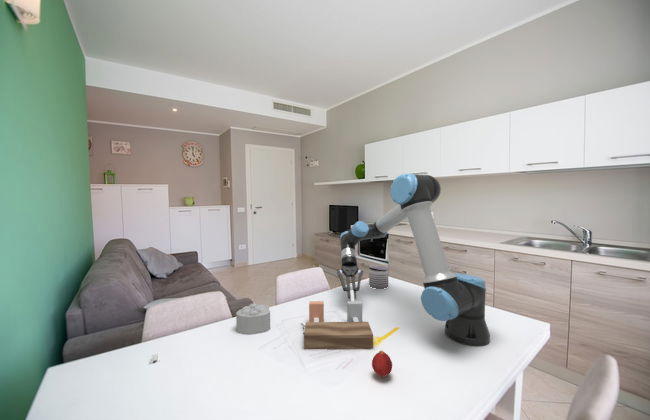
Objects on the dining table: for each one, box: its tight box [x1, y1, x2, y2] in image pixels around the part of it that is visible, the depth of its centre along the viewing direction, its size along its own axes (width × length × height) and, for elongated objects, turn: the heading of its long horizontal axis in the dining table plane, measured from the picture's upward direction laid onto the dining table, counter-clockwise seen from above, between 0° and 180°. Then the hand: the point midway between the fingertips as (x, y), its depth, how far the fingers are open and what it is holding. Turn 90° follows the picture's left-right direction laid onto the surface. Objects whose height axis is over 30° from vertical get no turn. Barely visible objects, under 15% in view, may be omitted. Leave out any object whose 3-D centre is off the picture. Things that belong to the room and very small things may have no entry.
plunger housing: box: [303, 321, 374, 350], centre depth 98 cm, size 10×24×5 cm, turn 91°
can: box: [368, 265, 390, 290], centre depth 158 cm, size 11×11×12 cm
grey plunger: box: [346, 300, 363, 322], centre depth 108 cm, size 12×6×8 cm, turn 1°
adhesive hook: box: [149, 351, 161, 365], centre depth 86 cm, size 3×3×3 cm
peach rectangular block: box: [308, 300, 325, 322], centre depth 107 cm, size 12×6×8 cm, turn 1°
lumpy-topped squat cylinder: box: [235, 302, 271, 336], centre depth 108 cm, size 10×13×9 cm
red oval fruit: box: [371, 349, 393, 378], centre depth 79 cm, size 6×6×8 cm
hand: (352, 305), depth 118 cm, fingers closed
